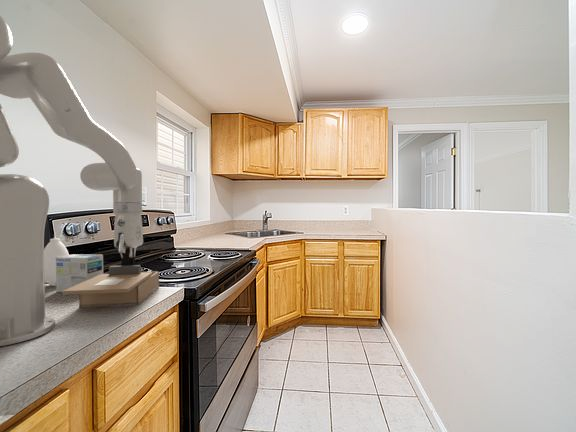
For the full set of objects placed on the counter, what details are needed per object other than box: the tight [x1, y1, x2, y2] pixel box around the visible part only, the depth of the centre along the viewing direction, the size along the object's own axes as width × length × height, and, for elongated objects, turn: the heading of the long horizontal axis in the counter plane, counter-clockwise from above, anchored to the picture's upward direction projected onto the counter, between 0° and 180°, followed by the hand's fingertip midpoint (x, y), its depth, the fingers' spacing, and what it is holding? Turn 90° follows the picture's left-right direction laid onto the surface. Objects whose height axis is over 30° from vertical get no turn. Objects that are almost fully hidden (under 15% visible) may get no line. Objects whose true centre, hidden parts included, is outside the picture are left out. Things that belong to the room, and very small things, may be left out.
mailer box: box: [78, 271, 160, 309], centre depth 83 cm, size 18×14×5 cm
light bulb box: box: [55, 253, 104, 293], centre depth 90 cm, size 11×7×11 cm, turn 84°
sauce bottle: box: [44, 230, 70, 287], centre depth 95 cm, size 8×8×18 cm
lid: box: [62, 264, 153, 296], centre depth 76 cm, size 18×14×3 cm
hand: (128, 270), depth 87 cm, fingers closed
